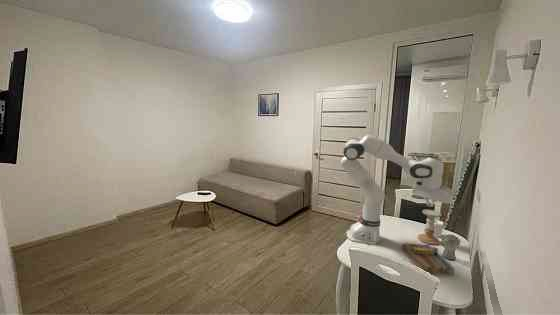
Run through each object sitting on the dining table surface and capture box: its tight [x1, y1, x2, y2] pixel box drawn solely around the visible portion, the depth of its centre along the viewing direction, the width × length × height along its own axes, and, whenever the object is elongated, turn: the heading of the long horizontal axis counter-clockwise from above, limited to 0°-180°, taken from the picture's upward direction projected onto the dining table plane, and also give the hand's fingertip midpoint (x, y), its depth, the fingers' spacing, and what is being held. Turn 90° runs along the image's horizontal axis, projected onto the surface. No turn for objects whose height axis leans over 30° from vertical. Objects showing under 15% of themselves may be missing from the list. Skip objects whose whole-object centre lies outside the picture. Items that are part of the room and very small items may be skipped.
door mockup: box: [401, 243, 455, 276], centre depth 123 cm, size 16×22×6 cm
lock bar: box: [412, 246, 439, 255], centre depth 124 cm, size 13×3×3 cm, turn 84°
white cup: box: [433, 219, 444, 238], centre depth 152 cm, size 8×8×10 cm
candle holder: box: [417, 209, 442, 246], centre depth 144 cm, size 12×12×20 cm
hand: (429, 206), depth 130 cm, fingers closed
